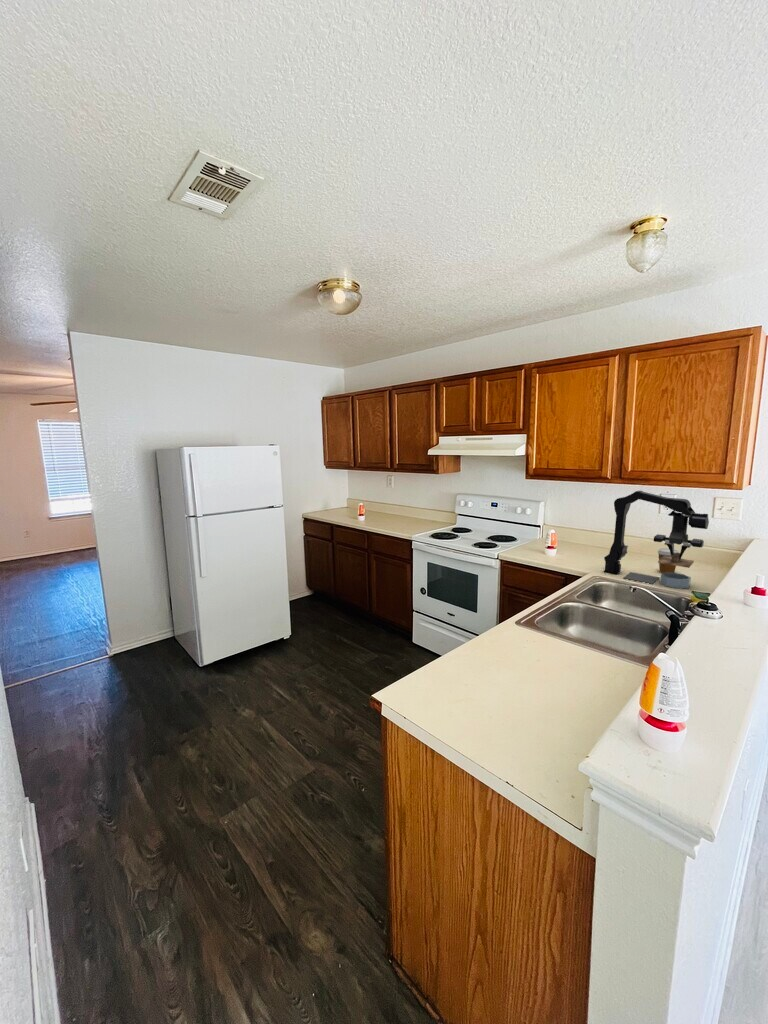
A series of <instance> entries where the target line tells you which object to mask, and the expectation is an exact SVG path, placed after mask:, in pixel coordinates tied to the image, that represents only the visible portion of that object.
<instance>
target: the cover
mask: <svg viewBox="0 0 768 1024" xmlns="http://www.w3.org/2000/svg"><path fill="white" fill-rule="evenodd" d="M679 556H680V552H679V553H674V554H673V555H672V557H667V556H663V557H662V558H661V559H660V560H659V559H658V560H657V563H658V564H659V563H662V564H668V565H675V566H676V567H681V568H686V569H687V568H688V569H689V568H691V566H692V565H693V564H694V562H695V561H694V560H692V559H685V558H681V559H679Z"/></svg>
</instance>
